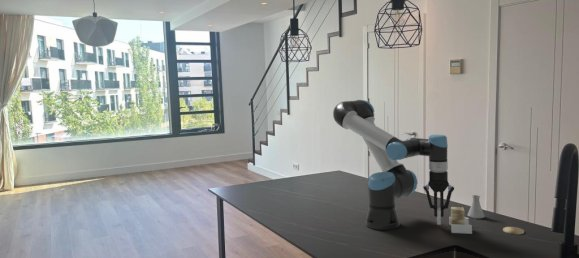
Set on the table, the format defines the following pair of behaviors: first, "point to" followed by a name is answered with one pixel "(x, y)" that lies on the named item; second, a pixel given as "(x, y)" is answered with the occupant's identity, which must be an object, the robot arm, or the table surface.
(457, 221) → the block
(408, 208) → the table surface
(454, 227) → the channel
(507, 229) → the coaster
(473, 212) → the flask
